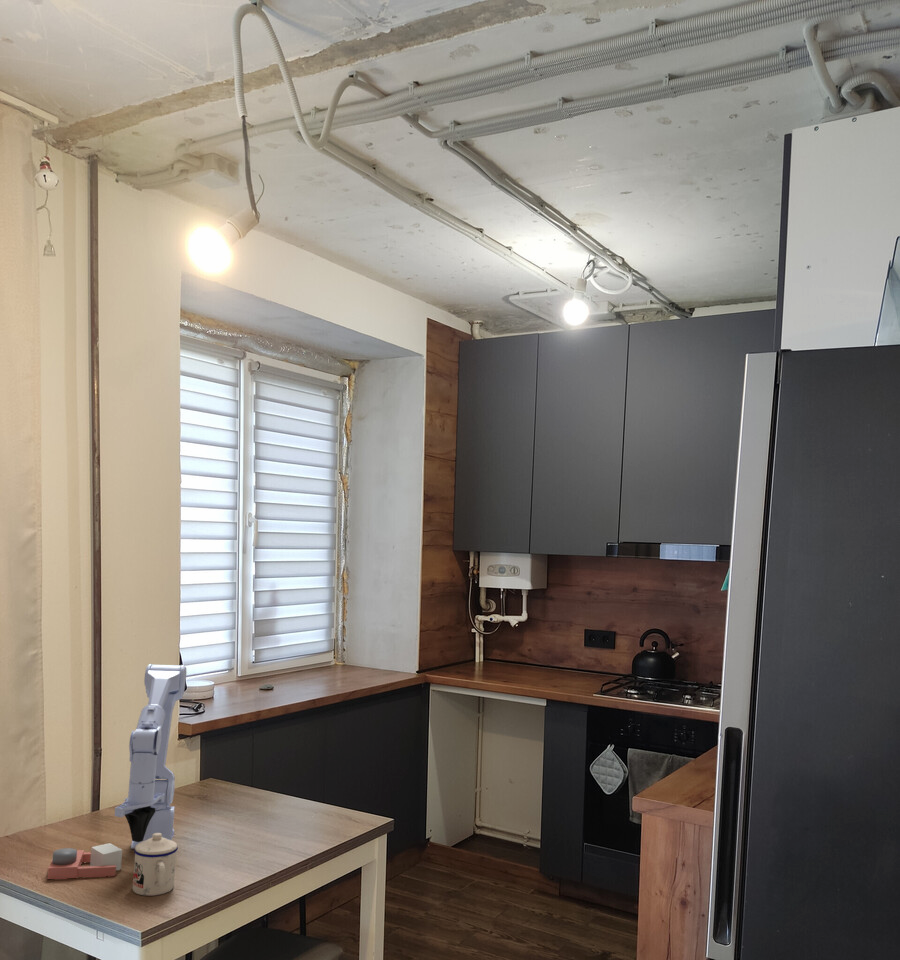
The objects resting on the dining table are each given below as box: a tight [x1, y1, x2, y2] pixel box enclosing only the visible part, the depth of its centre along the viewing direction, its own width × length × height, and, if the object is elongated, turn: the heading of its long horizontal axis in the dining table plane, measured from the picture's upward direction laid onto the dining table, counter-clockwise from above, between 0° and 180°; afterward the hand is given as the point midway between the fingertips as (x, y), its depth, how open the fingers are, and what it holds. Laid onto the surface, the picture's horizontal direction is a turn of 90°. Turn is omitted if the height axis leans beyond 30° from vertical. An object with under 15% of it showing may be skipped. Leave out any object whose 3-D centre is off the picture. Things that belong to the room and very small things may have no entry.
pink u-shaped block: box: [47, 847, 117, 880], centre depth 199 cm, size 14×11×4 cm
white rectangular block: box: [89, 842, 123, 871], centre depth 200 cm, size 4×6×4 cm
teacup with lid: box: [132, 833, 178, 897], centre depth 189 cm, size 12×9×12 cm
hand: (137, 840), depth 202 cm, fingers closed
